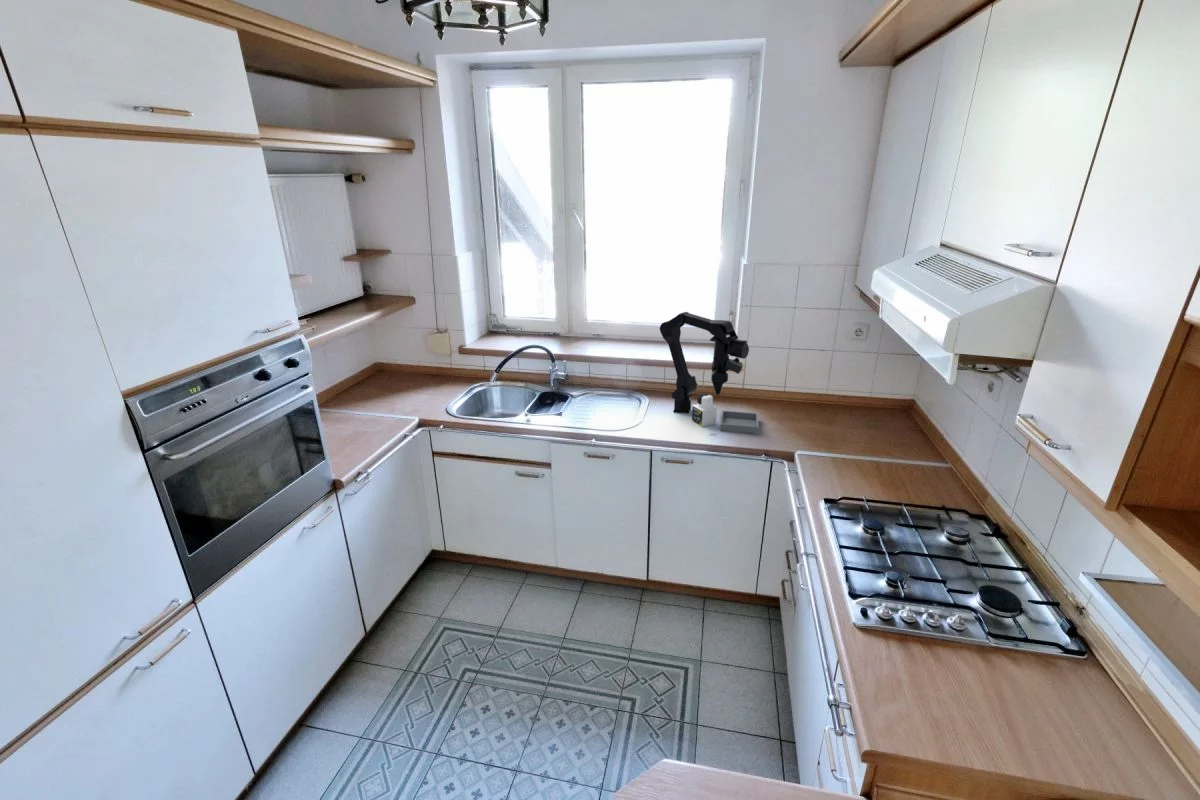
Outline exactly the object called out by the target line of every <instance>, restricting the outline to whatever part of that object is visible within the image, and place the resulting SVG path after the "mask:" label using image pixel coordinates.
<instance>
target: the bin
mask: <svg viewBox="0 0 1200 800" xmlns="http://www.w3.org/2000/svg"><path fill="white" fill-rule="evenodd" d="M719 423H720V424H719V432H725V431H726V432H727V433H737V432H738V433H739V434H748V433H750V434H751V435H759V429H760V427H759V413H758V412H744V411H734V410H733V411H732V410H723V409H722V410H721V413H720V421H719Z"/></svg>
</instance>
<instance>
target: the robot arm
mask: <svg viewBox="0 0 1200 800" xmlns="http://www.w3.org/2000/svg"><path fill="white" fill-rule="evenodd" d="M684 325H687V326H691V327H695V328H697V329H701V330H703V331H704V330H705V331H706V332H709V334H711V335H712V337H711V338H710V339H709V341H710V342H713V343H714V346H713V358H712V359H713V360H712V361H711V377H710V378H711V383H712V386H713V389H714V391H715V394H716V395H720V394H721V390H722V388H723V384H725V383H727V382H728V381H729V373H728V371H732V372H734V373H735V374H738V375H739V374H740V372H741V370H742V369H743V364H742V362H740V359H743V360H744V359H746V358H747V357H748V355H749V352H750V347H749V344H748V340H743V339H739V336H738V335H737V333H736V331H735V329H734V325H733V324H732V321H730V320H725V319H724V320H723V319H710V318H707V317H703V316H700V315H697V314H694V313H690V312H688V311H683V312H679V313H678V314H677V315H675V316H674V317H672V318H671V319H670V320H668V321H664V322H662V323H661V324H660V326H659V331H660V334H661V337H662V339H663V340H664V341H665V342H666V343H667V344H668V348H669V351H670V355H671V358H672V359H671V360H672V362H673V366H674V368H675V369H674V370H675V372H676V373H675V374H676V380H675V381H676V382H675V387H676V389H675V390H674V391H673V392H671V398H672V399H673V400H674V406H673V407H674V408H673V413H675V412H677V413H679V414H690V412H691V411H692V399H691V396H693V395H694V394H695V392H696V391H697V389H698V383H697V380H696V376H695V375H691V374H690V372H689V369H688V366H687V365H688V364H687V362H686V359H685V355H684V352H683V348H682V345H681V341H680V339H681V333H682V330H681V328H682V327H683V326H684ZM730 357H734V358H733V359H731V358H730ZM677 413H676V414H677Z"/></svg>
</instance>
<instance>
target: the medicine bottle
mask: <svg viewBox="0 0 1200 800" xmlns="http://www.w3.org/2000/svg"><path fill="white" fill-rule="evenodd" d="M713 399H714V396H713V395H712V394H710V393H704V392H703V393H700V394H698V395H697V400H696V401H697V403H696V404H692V405H691V421H692V422H693V423H695V424H697V425H698V426H699V427H701V428H703V427H707V426H712V425H716V423H717V412H718V411H717V410H718V409H717V407H716V406H714V405H713V401H714V400H713Z"/></svg>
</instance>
